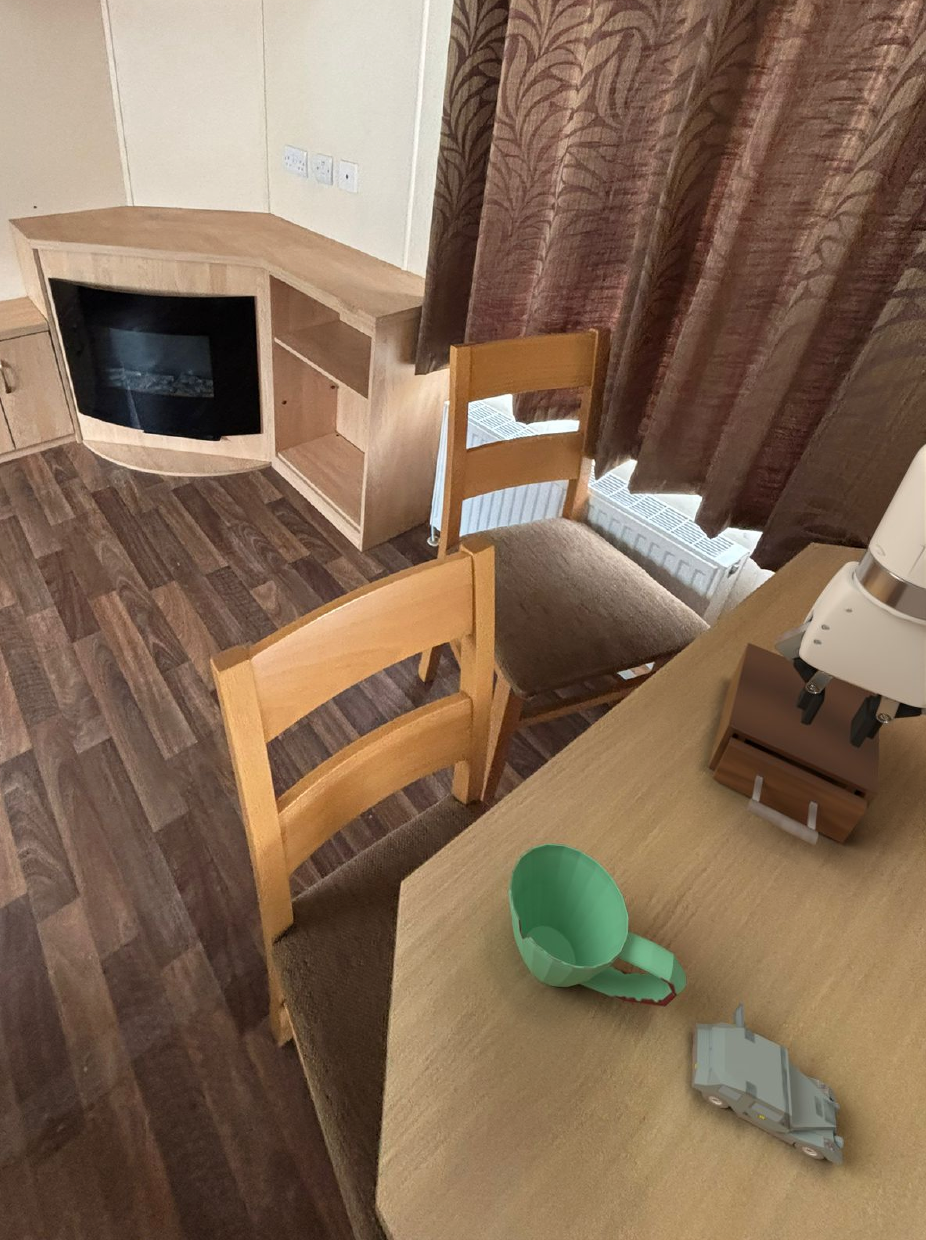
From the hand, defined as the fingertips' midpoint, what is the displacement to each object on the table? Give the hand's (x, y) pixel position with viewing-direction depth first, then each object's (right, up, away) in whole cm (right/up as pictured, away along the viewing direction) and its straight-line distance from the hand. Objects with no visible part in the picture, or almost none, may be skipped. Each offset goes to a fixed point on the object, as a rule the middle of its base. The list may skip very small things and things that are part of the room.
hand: (830, 723), depth 65 cm
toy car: (-13, -26, -9) cm, 30 cm away
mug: (-25, -22, -2) cm, 34 cm away
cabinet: (+6, -10, +16) cm, 20 cm away
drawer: (+3, -12, +12) cm, 17 cm away
